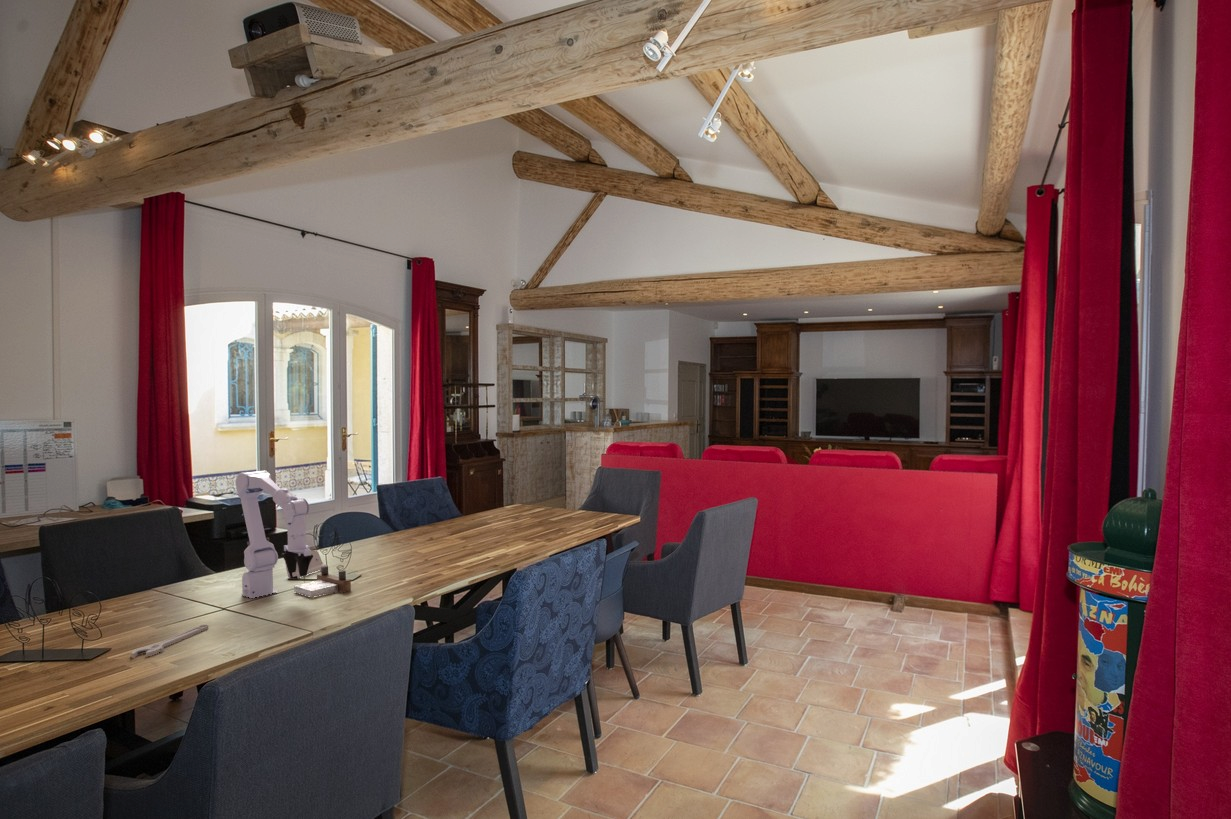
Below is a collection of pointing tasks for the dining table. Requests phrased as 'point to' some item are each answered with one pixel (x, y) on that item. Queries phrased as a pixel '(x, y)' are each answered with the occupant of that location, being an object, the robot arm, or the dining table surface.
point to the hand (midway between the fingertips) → (297, 574)
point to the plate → (316, 588)
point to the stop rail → (335, 579)
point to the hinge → (313, 566)
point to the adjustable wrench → (166, 642)
